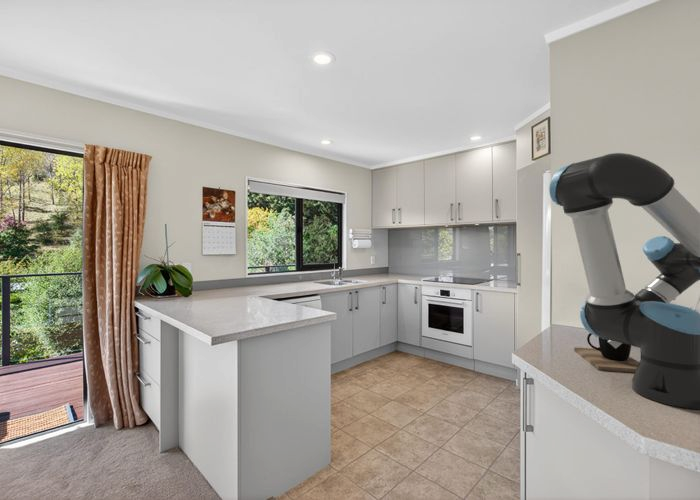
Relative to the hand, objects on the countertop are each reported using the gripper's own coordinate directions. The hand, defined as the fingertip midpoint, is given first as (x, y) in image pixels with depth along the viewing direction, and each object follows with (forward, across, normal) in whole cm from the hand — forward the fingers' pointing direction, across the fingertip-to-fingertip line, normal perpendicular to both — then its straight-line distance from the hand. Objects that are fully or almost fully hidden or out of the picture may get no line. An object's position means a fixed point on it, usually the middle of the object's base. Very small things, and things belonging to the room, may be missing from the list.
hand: (601, 339), depth 112 cm
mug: (+3, 0, -6) cm, 7 cm away
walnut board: (+4, 0, -7) cm, 8 cm away
